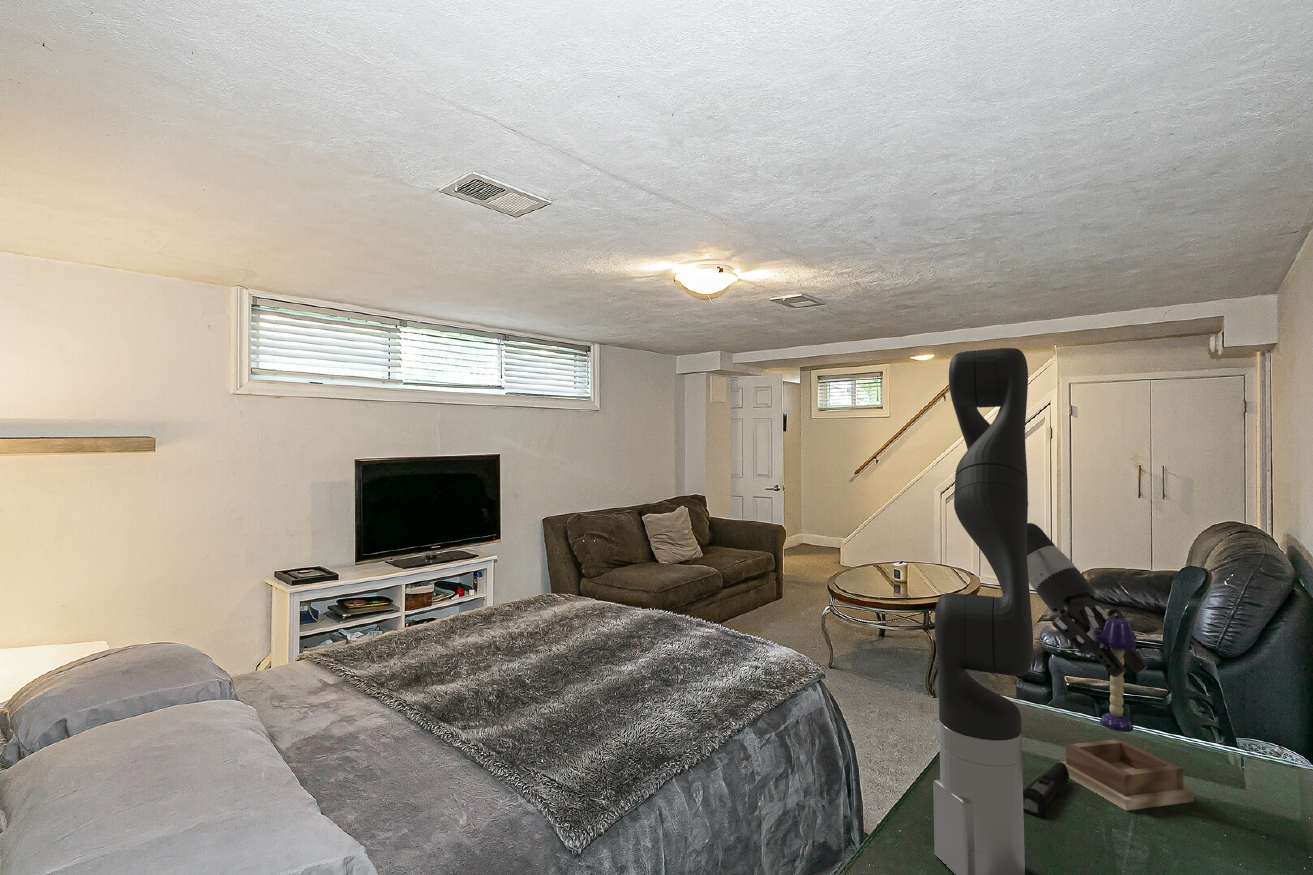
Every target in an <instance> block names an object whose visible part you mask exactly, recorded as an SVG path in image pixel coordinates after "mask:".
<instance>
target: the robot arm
mask: <svg viewBox="0 0 1313 875" xmlns="http://www.w3.org/2000/svg"><path fill="white" fill-rule="evenodd" d="M948 387H949V393H950V394H949V395H950V399H951V402H952V406H953V410H954V412H955V415H956V419H957V422H958V425H959V427H960V431H961V434H962V436H963V439H964V442H965V445H966V449H967V450H966V451H965V453H964V454H963V456H962V457H961V459H960V460H959V461H958V464H957V466H956V470H955V474H954V492H953V493H954V494H953V495H954V496H953V497H954V498H953V507H954V512H955V514H956V517H957V519H958V521H959V523H960V524H961V527H963V529H964V530H965V532H966V533H967V534H968V536H969V537H970V538H971V540H972V541H973V542H974V543H975V545H976V546H977V547H978V548H979V550H980V551H981V552H982V554H983V555H984V557H985V558H986V560H987V562H988V564H989V566H990V568H992V570H993V573H994V574H995V577H996V579H997V581H998V584H999V587H1000V590H1001V592H1002V595H1001V596H989V595H981V594H980V595H979V594H967V593H957V592H956V593H955V592H946V593H943V594H942V595H940V596H939V598H938V600H937V602H936V606H935V611H934V637H935V639H934V640H935V649H936V661H937V663H936V664H937V676H938V677H937V680H938V682H937V683H938V721H939V722H938V724H939V725H938V726H939V729H938V730H939V778H938V779H934V780H933V784H932V786H933V788H932V789H933V791H932V793H933V796H932V797H933V833H934V834H933V836H934V839H933V840H934V841H933V842H934V847H933V848H934V856H935V855H936V856H937V857H938V858H939V859H940V860H942V862H943V863H944V864H946V866H947V867H948V868H949V869H950V870H951V871H952V872H953V873H955V874H956V875H1026V873H1025V872H1026V867H1025V863H1026V860H1025V828H1024V827H1025V825H1024V824H1025V823H1024V821H1025V820H1024V813H1023V790H1024V784H1023V782H1024V779H1023V778H1024V777H1023V740H1022V739H1023V734H1022V716H1021V710H1020V709H1019V707H1018V706H1017V705H1016V704H1015V703H1014V702H1012V701H1011V700H1010V699H1009V698H1006V697H1004V696H1003V695H1001V694H998V693H997V692H995V691H992V690H991V689H989V688H987V687H985V686H984V685H982V684H981V683H979V682H978V681H977V680H976V679H974V678H973V677H972V676H971V675H970V674H969V672H968V671H967V670H969V671H975V672H981V673H982V672H983V673H988V674H996V675H1004V676H1011V677H1022V676H1025V675H1027V674H1028V672H1029V671H1030V669H1031V667H1032V663H1033V657H1034V655H1033V654H1034V628H1033V617H1032V616H1033V615H1032V604H1031V592H1030V586H1031V587H1032V588H1033V590H1034V591H1035V593H1036V594H1037V595H1038V597H1039V598H1040V599H1041V600H1042V601H1043V603H1044V604H1045V605H1046V607H1048V609H1049V610H1050V611H1051V613H1053V614H1055V615H1058V616H1057V617H1056V618H1055V619H1053V621H1051V625H1052V626H1053V627H1054V628H1055V629H1056V630H1057V631H1058V632H1059V633H1061V635H1063V637H1064V638H1065V639H1066V640H1067V641H1068V642H1069V643H1070V644H1072V645H1073V646H1074V647H1075V648H1076V649H1077V650H1078V651H1079V652H1080V653H1081V654H1086V653H1089V654H1090V655H1091V656H1093V657H1094V656H1095V657H1096V659H1097V660H1098V661H1099V662H1100V664H1101V665H1102V666H1103V667H1104V668H1105V670H1106V671H1107V672H1108V673H1109V674H1110V676H1111V675H1112V676H1113V677H1118V676H1120V675H1121V674H1123V673H1124V674H1125V672H1126V671H1127V669H1126V667H1125V666H1124V665H1122V663H1121V662H1120V661H1119V660H1118V659H1117V657H1116V656H1115V655H1114V654H1113V652H1112V651H1111V650H1110V647H1108V646H1106V644H1105V642H1104V640H1103V638H1102V637H1101V634H1102V631H1103V627H1104V625H1105V622H1106V620H1107V618H1121V619H1125V620H1126V617H1124V615H1123V613H1122V611H1121V610H1120V609H1119V608H1118V607H1116V606H1114V607H1112V608H1111V609H1108V608H1105V607H1104V606H1103V605H1102V604H1100V603H1099V602H1097V600H1095V594H1096V593H1095V592H1096V591H1095V590H1096V589H1095V587H1093V585H1092V584H1091V583H1090V582H1089V581H1088V580H1087V578H1086V577H1085V576H1084V575H1083V574H1082V573H1081V572H1080V570H1079V569H1078V567H1076V566H1075V564H1074V563H1073V562H1072V560H1070V559H1069V557H1068V556H1067V555H1065V553H1064V552H1062V551H1061V549H1059V548H1058V547H1057V546H1056V545H1055V543H1053V542H1054V541H1052V540H1051V539H1050V537H1049V536H1048V535H1047V534H1046V533H1045V532H1044V530H1043V529H1042V528H1041V527H1040V526H1038V525H1037V524H1036V523H1032V522H1028V515H1029V514H1028V512H1029V510H1028V509H1029V486H1028V484H1029V482H1028V465H1027V449H1026V448H1027V447H1026V421H1027V420H1026V419H1027V405H1028V404H1027V403H1028V390H1029V367H1028V363H1027V358H1026V356H1025V354H1024V352H1023V351H1022V350H1020V349H1019V348H1015V347H1000V348H998V347H997V348H988V349H987V348H986V349H978V350H966V351H960V352H957V353H955V354H954V355H953V356H952V357H951V359H950V363H949V368H948ZM996 407H997V408H998V407H999V409H998V411H997V414H996V416H995V418H994V420H993V421H992V423H990V422H989V421H987V419H986V418H985V417H984V416H983V415H982V414H981V412H980V411H979V409H978V408H996ZM1133 635H1134V638H1135V640H1137V636H1136V634H1135V632H1134V631H1133ZM1076 636H1077V637H1078V639H1077V637H1076ZM1107 647H1108V648H1107ZM1123 658H1124V663H1126V664H1127V665H1128V667H1129V668H1130V669H1131V671H1132V672H1133V673H1135V674H1138V673H1142V672H1144V670H1146V669H1148V667H1149V665H1148V663H1147V662H1146V661H1145V659H1144V658H1143V657H1142V656H1141V655H1140V654H1139V652H1138V651H1137V650H1136V648H1135V649H1132V650H1124V655H1123ZM1124 674H1123V675H1124ZM936 856H935V857H936ZM937 857H936V858H937ZM938 858H937V859H938ZM939 859H938V860H939ZM940 860H939V861H940ZM942 862H941V863H942ZM943 863H942V864H943ZM944 864H943V865H944ZM946 866H945V867H946ZM947 867H946V868H947ZM948 868H947V869H948ZM949 869H948V870H949ZM950 870H949V871H950ZM951 871H950V872H951ZM952 872H951V873H952ZM953 873H952V874H953ZM955 874H954V875H955Z"/></svg>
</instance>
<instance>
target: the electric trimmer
mask: <svg viewBox="0 0 1313 875" xmlns="http://www.w3.org/2000/svg"><path fill="white" fill-rule="evenodd" d="M1069 780H1070V778H1069V773H1068V770H1067V767H1066V765H1065V764H1064V763H1062V762H1061V761H1058V762H1056V763H1055V764H1054V765H1053V766H1052V767H1050V769H1048V770H1047V771H1046V772H1045V773H1043V775H1041V776H1040V777H1038V778H1036V779H1035V780H1034V781H1033V782H1031V784H1028V786H1026V787H1025V788H1023V814H1026V815H1029V816H1032V817H1034V818H1037V819H1040V818H1045V817H1046V813H1047V809H1048V804H1049V803H1050V802H1051V801H1052V799H1054V797H1061V796H1062V795H1063V794H1064V791H1065V790H1066V786H1067V785H1068V782H1069Z"/></svg>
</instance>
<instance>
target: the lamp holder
mask: <svg viewBox="0 0 1313 875" xmlns="http://www.w3.org/2000/svg"><path fill="white" fill-rule="evenodd" d="M1060 762H1062V763H1064V764H1065V765H1066V767H1067V770H1068V773H1069V779H1071V780H1072V781H1074V782H1075V783H1078V784H1079V785H1081V786H1083V787H1084V788H1086V789H1088V790H1090V791H1092V792H1093V793H1095V794H1096V793H1097V795H1098V796H1100V797H1102V798H1103V797H1104V799H1105V800H1107V801H1108V802H1111V803H1112V804H1114V805H1115V806H1118V807H1119V808H1120V809H1122V810H1124V811H1133V810H1141V809H1147V808H1148V809H1149V808H1157V807H1162V806H1172V805H1179V804H1188V803H1194V802H1195V796H1194V794H1195V792H1194V790H1192V789H1189V787H1186V786H1184V768H1183V767H1181V766H1179V765H1176V764H1174V763H1172V762H1169V761H1168V760H1165V759H1164V758H1161V757H1159V756H1157V755H1155V754H1153V753H1151V752H1148V751H1146V750H1144V749H1142V748H1140V747H1137V746H1136V745H1134V744H1131V743H1129V742H1126V741H1125V740H1122V739H1120V738H1117V739H1107V740H1099V741H1087V742H1080V743H1079V742H1078V743H1069V744H1065V760H1061V761H1060Z"/></svg>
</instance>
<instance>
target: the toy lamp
mask: <svg viewBox="0 0 1313 875" xmlns="http://www.w3.org/2000/svg"><path fill="white" fill-rule="evenodd" d="M1133 632H1134V631H1133V629H1132V626H1131V622H1130V621H1129V620H1127V619H1126V618H1125V619H1121V618H1107V620H1106V622H1105V625H1104V627H1103V631H1102V634H1101V637H1102V638H1103V640H1104V642H1105V644H1106V646H1107V647H1108V648H1109V649H1110V650H1111V651H1112V652H1113V654H1114V655H1115V656H1116V657H1117V659H1118V660H1119V661H1120V662H1121V663H1122V665H1123V666H1124V665H1125V661H1124V658H1123V655H1124V650H1132V649H1135V650H1136V648H1137V643H1136V639H1135V638H1134V635H1133ZM1124 674H1125V672H1124V673H1123V674H1121V675H1120V676H1118V677H1113V676H1112V675H1111V674H1110V676H1109V681H1110V686H1109V692H1110V696H1109V701H1110V702H1109V703H1110V705H1109V712H1106V713H1104V714H1103V715H1102V716H1101V717H1100V720H1099V723H1100V725H1101V726H1102V727H1105V728H1106V729H1109V730H1113V731H1115V732H1120V733H1131V732H1133V731H1134V726H1133V723H1132V722H1131V720H1130V719H1129V718H1128V717H1127V716H1125V715H1124V708H1123V705H1124V701H1125V700H1124V697H1123V696H1124V693H1125V689H1124V687H1123V686H1124V684H1125V678H1124Z"/></svg>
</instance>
